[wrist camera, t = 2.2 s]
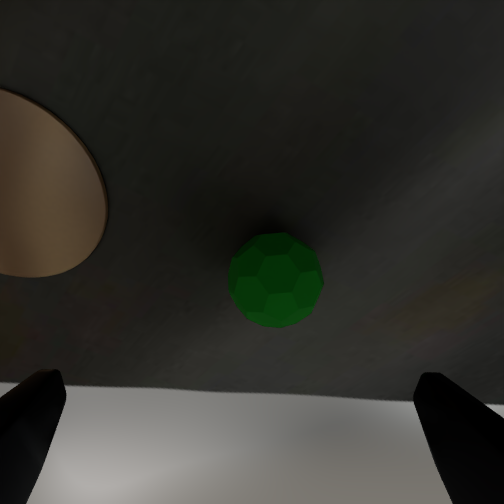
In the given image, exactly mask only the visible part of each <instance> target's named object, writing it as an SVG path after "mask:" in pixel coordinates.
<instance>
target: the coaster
mask: <svg viewBox="0 0 504 504" xmlns="http://www.w3.org/2000/svg"><path fill="white" fill-rule="evenodd" d="M107 218H108V201H107V193H106V189H105V184H104V181H103V178H102V176H101V173H100V170H99V168H98V166H97V164H96V162H95V160H94V158H93V157H92V155H91V154H90V152H89V151H88V149H87V148H86V146H85V145H84V144H83V142H82V141H81V140H80V139H79V137H78V136H77V135H76V134H75V133H74V132H73V131H72V130H71V129H70V128H69V127H68V126H67V125H66V124H65V123H64V122H63V121H62V120H60V119H59V118H58V117H57V116H55V115H54V114H53V113H52V112H50V111H49V110H47V109H46V108H44V107H43V106H41V105H40V104H38V103H36V102H34V101H32V100H30V99H28V98H27V97H25V96H23V95H20V94H17V93H15V92H12V91H10V90H7V89H3V88H0V273H2V274H6V275H12V276H17V277H45V276H51V275H55V274H59V273H62V272H65V271H67V270H69V269H72V268H73V267H75V266H77V265H78V264H80V263H81V262H82V261H84V260H85V259H86V258H87V257H88V256H89V255H90V254H91V253H92V252H93V250H94V249H95V248H96V247H97V245H98V243H99V242H100V240H101V238H102V236H103V233H104V231H105V228H106V223H107Z"/></svg>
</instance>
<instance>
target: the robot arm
mask: <svg viewBox="0 0 504 504" xmlns="http://www.w3.org/2000/svg"><path fill="white" fill-rule="evenodd" d="M413 400H414V405H415V408H416V411H417V413H418V416H419V419H420V422H421V425H422V428H423V431H424V434H425V436H426V439H427V442H428V445H429V448H430V451H431V454H432V457H433V459H434V462H435V464H436V467H437V469H438V472H439V474H440V476H441V479H442V481H443V483H444V485H445V488H446V490H447V492H448V494H449V496H450V499H451V501H452V503H453V504H504V418H503V417H501V416H500V415H498V414H497V413H496V412H494V411H493V410H492V409H490V408H489V407H487V406H486V405H485V404H483V403H482V402H480V401H479V400H478V399H476V398H475V397H473V396H472V395H471V394H469V393H468V392H466V391H465V390H464V389H462V388H461V387H460V386H458V385H457V384H455V383H454V382H453V381H451V380H450V379H448V378H447V377H446V376H444V375H443V374H441V373H437V372H425V373H423V374H422V375H421V377H420V379H419V382H418V384H417V387H416V389H415V392H414V395H413ZM65 402H66V390H65V386H64V383H63V379H62V376H61V373H60V371H59V370H56V369H41V370H39V371H37V372H35V373H34V374H32V375H31V376H30V377H28V378H27V379H25V380H24V381H23V382H21V383H20V384H18V385H17V386H16V387H14V388H13V389H11V390H10V391H9V392H7V393H6V394H4V395H3V396H2V397H1V398H0V504H26V503H27V501H28V498H29V496H30V494H31V492H32V489H33V488H34V486H35V483H36V481H37V479H38V476H39V474H40V472H41V470H42V467H43V464H44V462H45V459H46V456H47V453H48V450H49V447H50V445H51V442H52V439H53V436H54V434H55V431H56V428H57V425H58V422H59V419H60V417H61V414H62V411H63V408H64V405H65Z"/></svg>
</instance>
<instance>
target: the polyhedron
mask: <svg viewBox="0 0 504 504" xmlns="http://www.w3.org/2000/svg"><path fill="white" fill-rule="evenodd" d="M228 285H229V293H230V295H231V297H232V299H233V300H234V302H235V304H236V306H237V307H238V308H239V310H240V311H241V312H242V313H243V314H244V316H245V317H246V318H247V319H249V320H251V321H253V322H255V323H257V324H260V325H262V326H266V327H277V328H282V327H285V326H289V325H292V324H296V323H297V322H299V321H300V320H302V319H303V318H305V317H306V316H308V315H309V314H311V313H312V310H313V308H314V306H315V304H316V302H317V300H318V297H319V295H320V292H321V290H322V287H323V285H324V281H323V276H322V271H321V267H320V264H319V261H318V258H317V255H316V253H315V251H314V250H313V249H312V248H310V247H309V246H307V245H306V244H305V243H303V242H302V241H300V240H298V239H297V238H295V237H293V236H291V235H290V234H288V233H272V234H262V235H256V236H254V237H253V238H252V239H251V240H249V241H248V242H247V243H246V244H244V245H243V246H242V247H241V248H240V249H239V250H238V251H237V253H236V254H235V255H234V256H233V257H232V261H231V265H230V269H229V273H228Z"/></svg>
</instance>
